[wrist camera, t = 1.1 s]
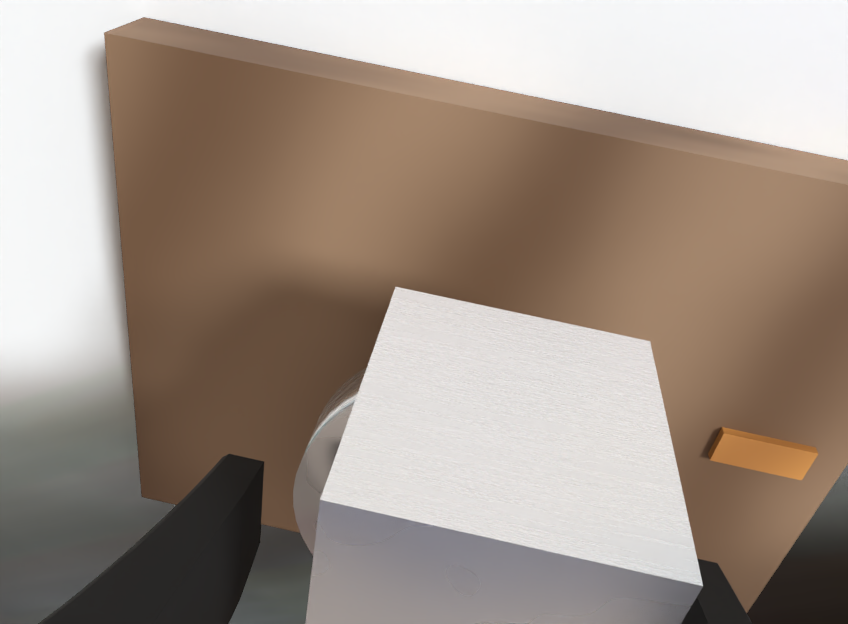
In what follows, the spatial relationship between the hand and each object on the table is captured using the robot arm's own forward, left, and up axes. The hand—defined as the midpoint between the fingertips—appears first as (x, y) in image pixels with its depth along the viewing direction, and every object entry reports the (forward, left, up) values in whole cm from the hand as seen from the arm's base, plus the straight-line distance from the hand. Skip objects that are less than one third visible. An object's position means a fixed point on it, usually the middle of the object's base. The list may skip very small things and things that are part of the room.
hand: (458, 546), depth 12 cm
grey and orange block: (0, 0, -2) cm, 2 cm away
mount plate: (0, 0, -6) cm, 6 cm away
